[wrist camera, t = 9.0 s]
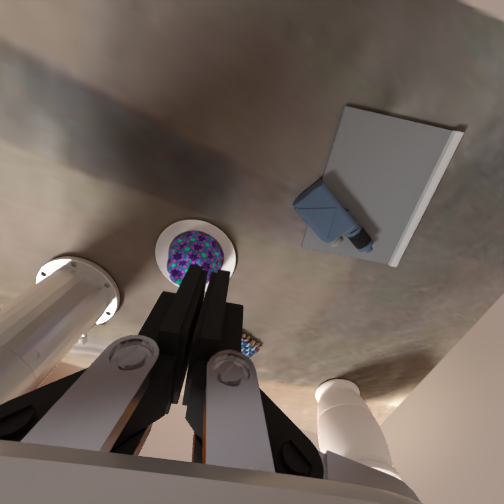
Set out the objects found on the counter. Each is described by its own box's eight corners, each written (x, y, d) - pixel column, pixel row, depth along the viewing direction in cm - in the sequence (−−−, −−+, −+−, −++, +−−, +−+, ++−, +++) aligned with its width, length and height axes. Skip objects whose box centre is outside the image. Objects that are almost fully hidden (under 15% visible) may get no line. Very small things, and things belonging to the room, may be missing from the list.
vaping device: (323, 175, 33) (374, 240, 36) (290, 202, 35) (342, 261, 38) (326, 180, 30) (380, 248, 34) (291, 208, 32) (346, 270, 36)
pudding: (149, 275, 41) (135, 294, 36) (166, 205, 36) (152, 216, 31) (222, 298, 42) (217, 319, 38) (247, 235, 37) (245, 250, 33)
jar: (302, 403, 52) (317, 499, 39) (320, 369, 48) (344, 462, 35) (351, 413, 53) (382, 510, 40) (373, 380, 49) (417, 475, 35)
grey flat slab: (392, 263, 38) (396, 267, 37) (301, 245, 37) (302, 248, 36) (456, 132, 31) (464, 132, 30) (344, 106, 30) (347, 105, 29)
